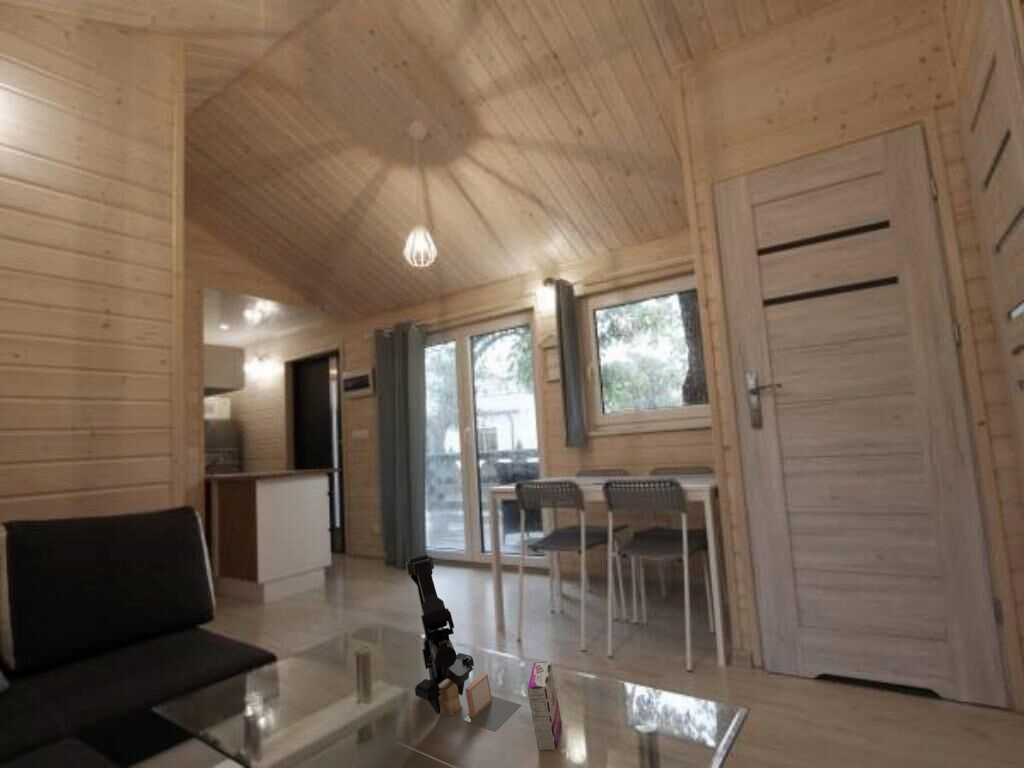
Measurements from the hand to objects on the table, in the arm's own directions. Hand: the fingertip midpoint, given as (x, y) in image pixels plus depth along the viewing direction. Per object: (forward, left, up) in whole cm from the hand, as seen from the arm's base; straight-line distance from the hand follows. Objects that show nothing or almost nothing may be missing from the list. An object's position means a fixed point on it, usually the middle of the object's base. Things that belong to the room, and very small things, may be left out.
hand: (450, 704), depth 157 cm
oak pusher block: (0, 0, -2) cm, 2 cm away
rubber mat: (+12, +4, -2) cm, 13 cm away
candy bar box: (+32, +3, -2) cm, 32 cm away
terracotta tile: (+8, +4, -2) cm, 9 cm away
